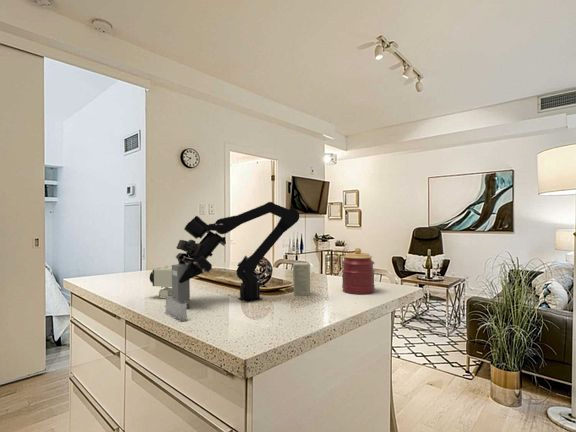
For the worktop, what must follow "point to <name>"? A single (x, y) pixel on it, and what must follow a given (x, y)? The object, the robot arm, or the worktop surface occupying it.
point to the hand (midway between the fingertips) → (176, 281)
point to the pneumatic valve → (162, 280)
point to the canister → (358, 273)
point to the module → (180, 289)
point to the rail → (177, 308)
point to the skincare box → (301, 278)
